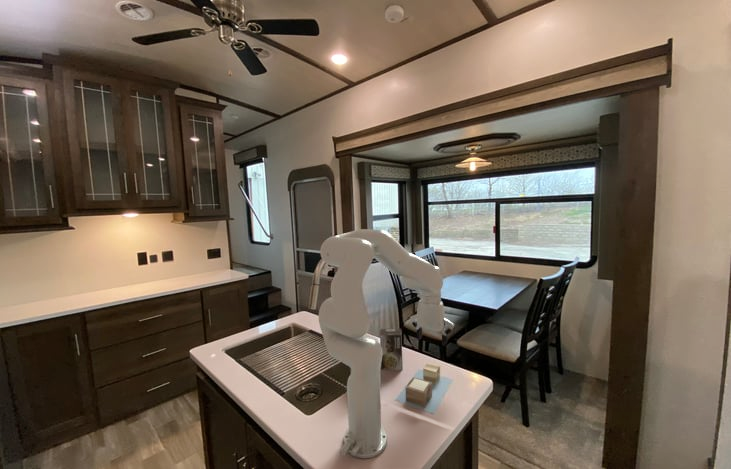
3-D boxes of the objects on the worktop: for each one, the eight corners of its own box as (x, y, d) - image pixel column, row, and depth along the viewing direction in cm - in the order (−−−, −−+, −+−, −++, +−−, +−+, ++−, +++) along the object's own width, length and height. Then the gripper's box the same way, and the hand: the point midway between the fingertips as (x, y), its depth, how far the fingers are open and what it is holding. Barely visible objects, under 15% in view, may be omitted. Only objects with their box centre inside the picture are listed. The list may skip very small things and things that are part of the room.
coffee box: (402, 364, 124) (401, 328, 122) (402, 372, 117) (402, 334, 116) (381, 363, 125) (380, 328, 123) (380, 372, 118) (379, 334, 117)
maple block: (436, 384, 107) (435, 371, 107) (423, 380, 110) (423, 368, 109) (440, 377, 111) (440, 365, 111) (428, 374, 114) (427, 362, 113)
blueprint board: (433, 417, 92) (433, 399, 91) (394, 402, 99) (394, 386, 99) (452, 381, 110) (452, 366, 110) (418, 371, 118) (418, 357, 117)
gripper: (405, 298, 109) (407, 340, 111) (450, 304, 100) (451, 351, 102) (413, 292, 116) (414, 333, 117) (456, 298, 106) (457, 342, 108)
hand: (431, 341), depth 109 cm, fingers open, 9 cm apart
